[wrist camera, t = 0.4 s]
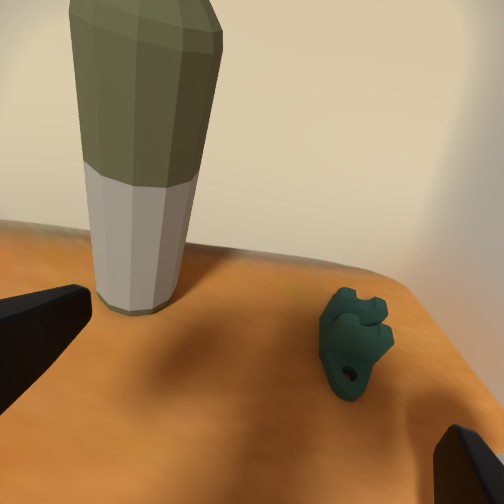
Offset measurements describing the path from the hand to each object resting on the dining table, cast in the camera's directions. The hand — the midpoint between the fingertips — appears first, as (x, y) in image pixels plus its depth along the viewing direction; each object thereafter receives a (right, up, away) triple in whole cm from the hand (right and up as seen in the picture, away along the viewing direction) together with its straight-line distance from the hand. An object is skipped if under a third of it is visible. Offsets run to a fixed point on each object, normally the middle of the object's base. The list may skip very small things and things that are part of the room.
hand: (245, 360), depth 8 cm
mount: (+8, -6, +22) cm, 24 cm away
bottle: (-10, -1, +20) cm, 22 cm away
